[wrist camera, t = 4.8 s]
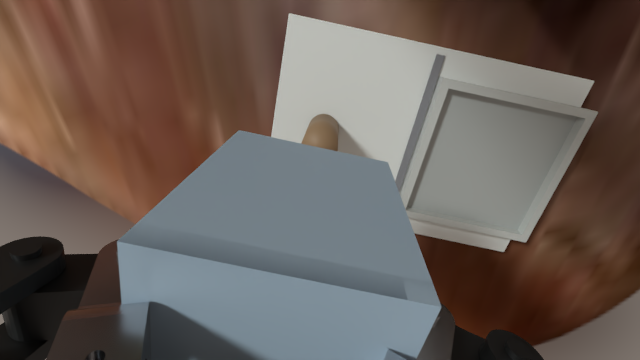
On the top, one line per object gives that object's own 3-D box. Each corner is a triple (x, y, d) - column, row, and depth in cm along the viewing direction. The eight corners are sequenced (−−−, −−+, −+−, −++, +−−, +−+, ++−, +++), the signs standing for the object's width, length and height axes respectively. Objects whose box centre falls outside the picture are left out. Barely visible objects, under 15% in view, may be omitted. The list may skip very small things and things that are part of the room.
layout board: (265, 193, 30) (246, 232, 24) (292, 14, 24) (274, 5, 18) (502, 243, 30) (542, 293, 24) (588, 80, 24) (668, 93, 18)
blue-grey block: (226, 252, 14) (130, 431, 8) (239, 130, 12) (116, 241, 5) (351, 277, 14) (359, 474, 8) (387, 162, 12) (441, 307, 6)
